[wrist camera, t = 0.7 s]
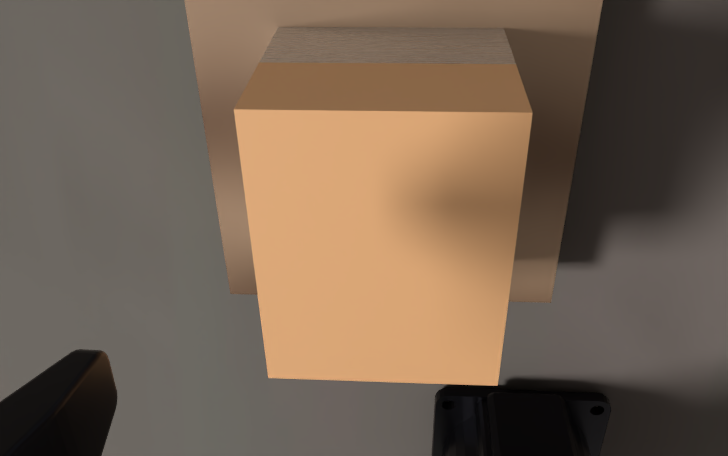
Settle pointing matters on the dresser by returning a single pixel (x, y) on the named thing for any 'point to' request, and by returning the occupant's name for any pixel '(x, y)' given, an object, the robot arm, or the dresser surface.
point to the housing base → (389, 45)
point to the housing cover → (383, 216)
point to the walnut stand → (410, 9)
